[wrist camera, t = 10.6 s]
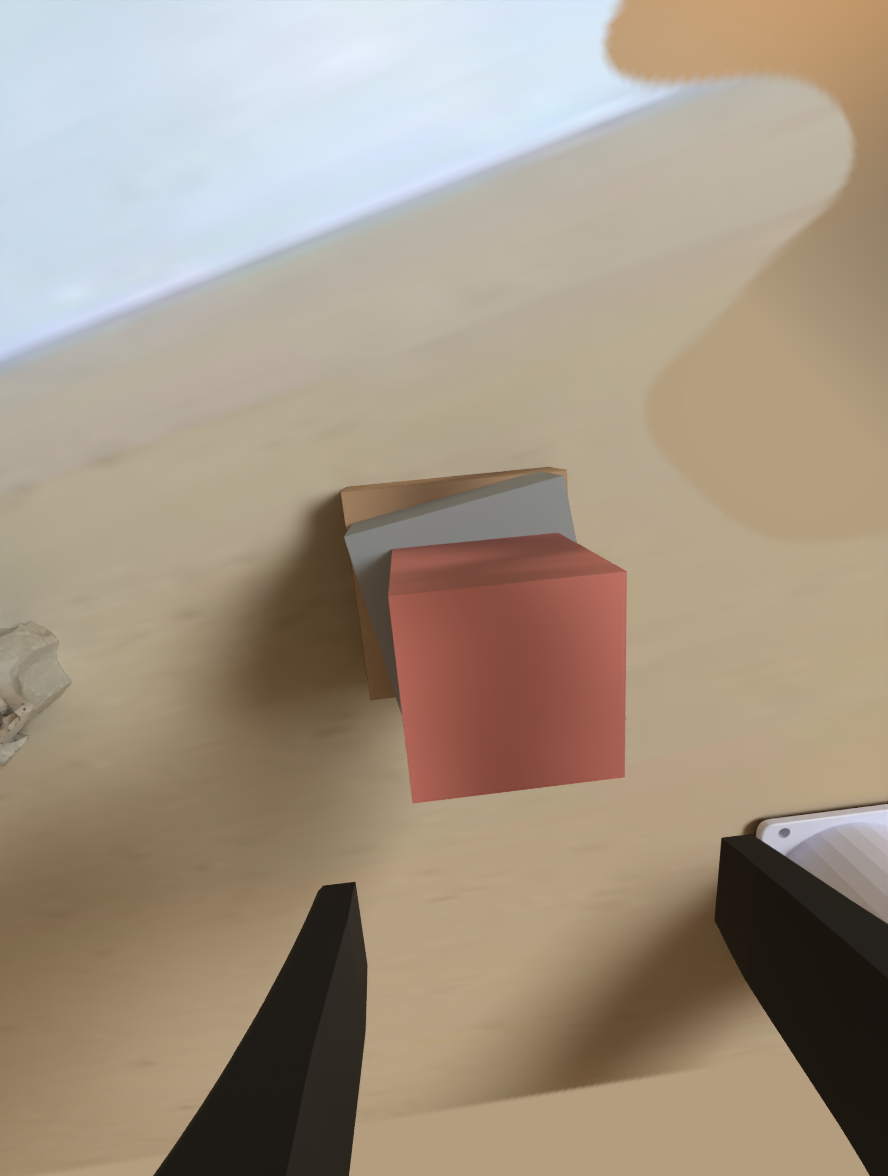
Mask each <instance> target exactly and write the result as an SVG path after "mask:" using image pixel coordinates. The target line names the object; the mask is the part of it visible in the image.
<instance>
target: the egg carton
mask: <svg viewBox="0 0 888 1176" xmlns="http://www.w3.org/2000/svg"><path fill="white" fill-rule="evenodd" d="M58 643H59V640H58V639H57V637H56V636H55V635H54V634H53V633H52V632H50V631H49V630H48V629H46V628H44V627H43V626H41V625H39V624H38V623H36V622H34V621H32V622H30V623H28V624H26V625H23V624H20V626H19V627H18V628H15V629H3V628H0V768H2V767H3V766H4V765H6V764H7V763H8V761H9V760H10V759H11V758H12V757H13V755H14V754H15V753H16V752H17V751H18V750H19V749H20V748H21V746H22V744H23V743H24V742H25V741H26V740H27V739H28V738H29V736H30V735H23V734H18V732H19V730H20V729H21V728H22V727H23V725H24V724H25V723H26V722H28V721H29V720H30V719H31V718H32V717H34V716H35V715H37V714H38V713H40V712H41V711H42V710H44V709H45V708H47V707H48V706H49V705H50V704H51V703H52V702H54V701H55V700H56V699H58V698H59V697H60V696H61V695H62V694H63V693H64V691H65V690H66V689H67V688H68V687H69V686H70V684H71V683H72V679H71V678H70V677H69V676H68V675H67V673H66V672H65V671H64V670H63V668H62V667H61V665H60V663H59V661H58V657H57V647H58Z"/></svg>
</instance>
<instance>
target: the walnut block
mask: <svg viewBox="0 0 888 1176" xmlns="http://www.w3.org/2000/svg"><path fill="white" fill-rule="evenodd" d="M537 471H542V472H547V473H553V474H558V475H563V476H564V481H565V486H566V491H567V470H564V469H558V468H552V467H544V468H533V469H523V470H513V471H503V472H493V473H483V474H473V475H463V476H452V477H442V478H432V479H422V480H412V481H402V482H392V483H382V484H372V485H361V486H351V487H347V488H345V489H344V490H343V491H342V492H341V498H342V505H343V512H344V519H345V526H346V532H347V531H348V529H349V528H350V526H351V524H352V523H355V522H358V521H362V520H366V519H369V518H373V517H376V516H380V515H384V514H387V513H391V512H394V511H398V510H401V509H405V508H409V507H412V506H416V505H419V504H423V503H426V502H430V501H434V500H437V499H441V498H444V497H448V496H451V495H455V494H459V493H462V492H466V491H469V490H473V489H476V488H480V487H484V486H487V485H491V484H494V483H498V482H501V481H505V480H509V479H512V478H516V477H519V476H523V475H526V474H530V473H534V472H537ZM567 496H568V493H567ZM350 560H351V557H350ZM351 567H352V574H353V581H354V588H355V595H356V602H357V609H358V616H359V623H360V630H361V637H362V644H363V651H364V658H365V665H366V672H367V679H368V686H369V693H370V700H375V699H383V698H391V697H396V695H395V692H394V689H393V686H392V683H391V680H390V677H389V674H388V671H387V668H386V665H385V662H384V658H383V655H382V652H381V649H380V646H379V643H378V640H377V637H376V634H375V631H374V628H373V625H372V622H371V619H370V616H369V613H368V609H367V606H366V603H365V600H364V597H363V594H362V591H361V588H360V585H359V582H358V579H357V576H356V573H355V570H354V567H353V563H352V560H351Z"/></svg>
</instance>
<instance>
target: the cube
mask: <svg viewBox="0 0 888 1176" xmlns="http://www.w3.org/2000/svg"><path fill="white" fill-rule="evenodd" d="M626 595H627V571H625V570H623V569H622V568H620V567H618V566H616V565H614V564H613V563H611V562H609V561H607V560H606V559H604V558H602V557H600V556H599V555H597V554H595V553H593V552H592V551H590V550H588V549H586V548H584V547H583V546H581V545H579V544H577V543H576V542H574V541H572V540H570V539H569V538H567V537H565V536H563V535H562V534H560V533H549V534H539V535H529V536H519V537H508V538H498V539H488V540H478V541H468V542H458V543H448V544H438V545H427V546H417V547H407V548H397V549H392V559H391V570H390V581H389V592H388V599H389V607H390V616H391V624H392V633H393V641H394V650H395V658H396V667H397V675H398V683H399V692H400V700H401V709H402V717H403V726H404V734H405V743H406V751H407V759H408V768H409V776H410V785H411V793H412V802H413V803H420V802H428V801H436V800H444V799H452V798H460V797H468V796H476V795H485V794H493V793H501V792H509V791H517V790H525V789H533V788H541V787H549V786H557V785H565V784H573V783H582V782H590V781H598V780H606V779H614V778H622V777H625V690H626Z"/></svg>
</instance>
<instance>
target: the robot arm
mask: <svg viewBox="0 0 888 1176" xmlns="http://www.w3.org/2000/svg"><path fill="white" fill-rule="evenodd" d="M781 829H782V830H781ZM715 922H716V924H717V926H718V928H719V930H720V932H721V934H722V936H723V938H724V940H725V942H726V944H727V946H728V948H729V950H730V952H731V954H732V956H733V958H734V960H735V962H736V964H737V965H738V967H739V969H740V971H741V973H742V975H743V977H744V979H745V980H746V982H747V983H748V985H749V987H750V988H751V990H752V991H753V993H754V995H755V996H756V998H757V999H758V1001H759V1002H760V1004H761V1005H762V1007H763V1009H764V1010H765V1012H766V1013H767V1015H768V1016H769V1018H770V1019H771V1021H772V1023H773V1024H774V1026H775V1027H776V1029H777V1030H778V1032H779V1033H780V1035H781V1036H782V1038H783V1040H784V1041H785V1043H786V1044H787V1046H788V1047H789V1049H790V1050H791V1052H792V1053H793V1055H794V1056H795V1058H796V1059H797V1061H798V1063H799V1064H800V1065H801V1067H802V1068H803V1070H804V1072H805V1073H806V1075H807V1076H808V1078H809V1079H810V1081H811V1082H812V1084H813V1085H814V1087H815V1089H816V1090H817V1092H818V1093H819V1094H820V1096H821V1098H822V1099H823V1101H824V1102H825V1104H826V1106H827V1107H828V1109H829V1110H830V1112H831V1113H832V1115H833V1116H834V1118H835V1119H836V1121H837V1122H838V1124H839V1125H840V1127H841V1129H842V1130H843V1132H844V1134H845V1135H846V1137H847V1138H848V1140H849V1142H850V1143H851V1145H852V1147H853V1148H854V1150H855V1151H856V1153H857V1155H858V1156H859V1158H860V1160H861V1161H862V1163H863V1165H864V1166H865V1168H866V1170H867V1172H868V1173H869V1175H870V1176H888V804H883V805H876V806H868V807H860V808H852V809H845V810H837V811H829V812H821V813H813V814H806V815H798V816H790V817H782V818H775V819H768V820H764V821H762V822H761V823H760V824H759V825H758V827H757V831H756V837H755V836H753V835H752V834H749V835H741V836H732V837H724V838H722V839H721V851H720V862H719V874H718V886H717V898H716V910H715ZM366 1001H367V959H366V952H365V945H364V938H363V931H362V924H361V917H360V910H359V903H358V896H357V889H356V883H355V882H350V883H342V884H334V885H325V886H323V887H322V888H321V889H320V890H319V891H318V893H317V895H316V897H315V900H314V902H313V905H312V907H311V909H310V911H309V914H308V916H307V918H306V920H305V922H304V925H303V927H302V929H301V931H300V933H299V935H298V937H297V939H296V941H295V943H294V945H293V947H292V949H291V951H290V953H289V955H288V957H287V959H286V961H285V963H284V965H283V967H282V969H281V971H280V973H279V974H278V976H277V978H276V980H275V982H274V984H273V986H272V988H271V990H270V991H269V993H268V995H267V997H266V999H265V1001H264V1003H263V1004H262V1006H261V1008H260V1010H259V1012H258V1013H257V1015H256V1017H255V1019H254V1020H253V1022H252V1024H251V1025H250V1027H249V1029H248V1030H247V1032H246V1034H245V1035H244V1037H243V1039H242V1041H241V1042H240V1044H239V1046H238V1047H237V1049H236V1051H235V1052H234V1054H233V1056H232V1058H231V1059H230V1061H229V1063H228V1064H227V1066H226V1068H225V1069H224V1071H223V1072H222V1074H221V1076H220V1077H219V1079H218V1080H217V1082H216V1084H215V1085H214V1087H213V1088H212V1090H211V1091H210V1093H209V1095H208V1096H207V1098H206V1099H205V1101H204V1102H203V1104H202V1105H201V1107H200V1108H199V1110H198V1112H197V1113H196V1115H195V1116H194V1117H193V1119H192V1120H191V1122H190V1123H189V1125H188V1126H187V1128H186V1129H185V1131H184V1132H183V1134H182V1135H181V1137H180V1138H179V1140H178V1141H177V1143H176V1144H175V1146H174V1147H173V1149H172V1150H171V1152H170V1153H169V1154H168V1156H167V1157H166V1159H165V1160H164V1161H163V1163H162V1164H161V1166H160V1167H159V1168H158V1170H157V1171H156V1173H155V1174H154V1175H153V1176H349V1170H350V1161H351V1153H352V1144H353V1136H354V1127H355V1119H356V1110H357V1102H358V1093H359V1084H360V1076H361V1067H362V1058H363V1049H364V1040H365V1031H366Z"/></svg>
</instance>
